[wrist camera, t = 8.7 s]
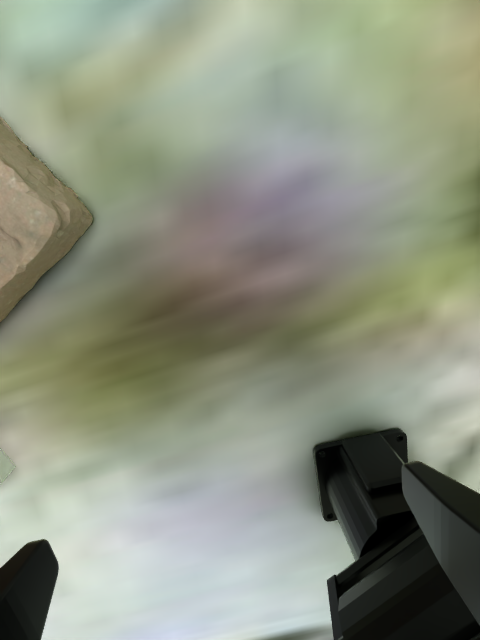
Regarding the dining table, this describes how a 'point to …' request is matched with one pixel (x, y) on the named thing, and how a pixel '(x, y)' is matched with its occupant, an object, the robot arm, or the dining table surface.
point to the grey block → (5, 466)
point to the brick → (32, 219)
